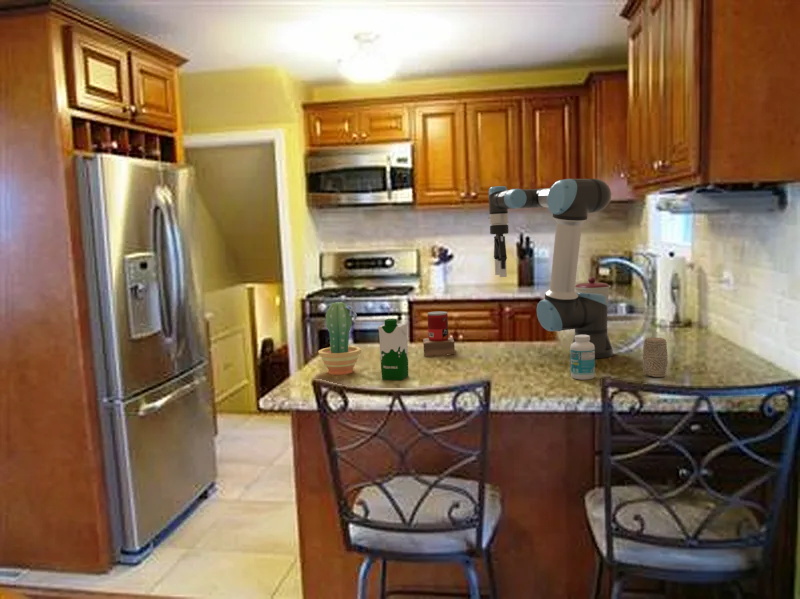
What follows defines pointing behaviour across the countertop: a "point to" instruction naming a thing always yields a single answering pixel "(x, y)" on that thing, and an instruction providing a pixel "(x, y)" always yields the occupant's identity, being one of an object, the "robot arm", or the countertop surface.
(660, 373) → the carving
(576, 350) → the pill bottle
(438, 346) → the block
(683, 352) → the countertop surface
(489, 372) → the countertop surface
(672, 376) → the countertop surface
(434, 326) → the canned food
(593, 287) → the canister
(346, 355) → the potted cactus
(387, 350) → the milk carton
